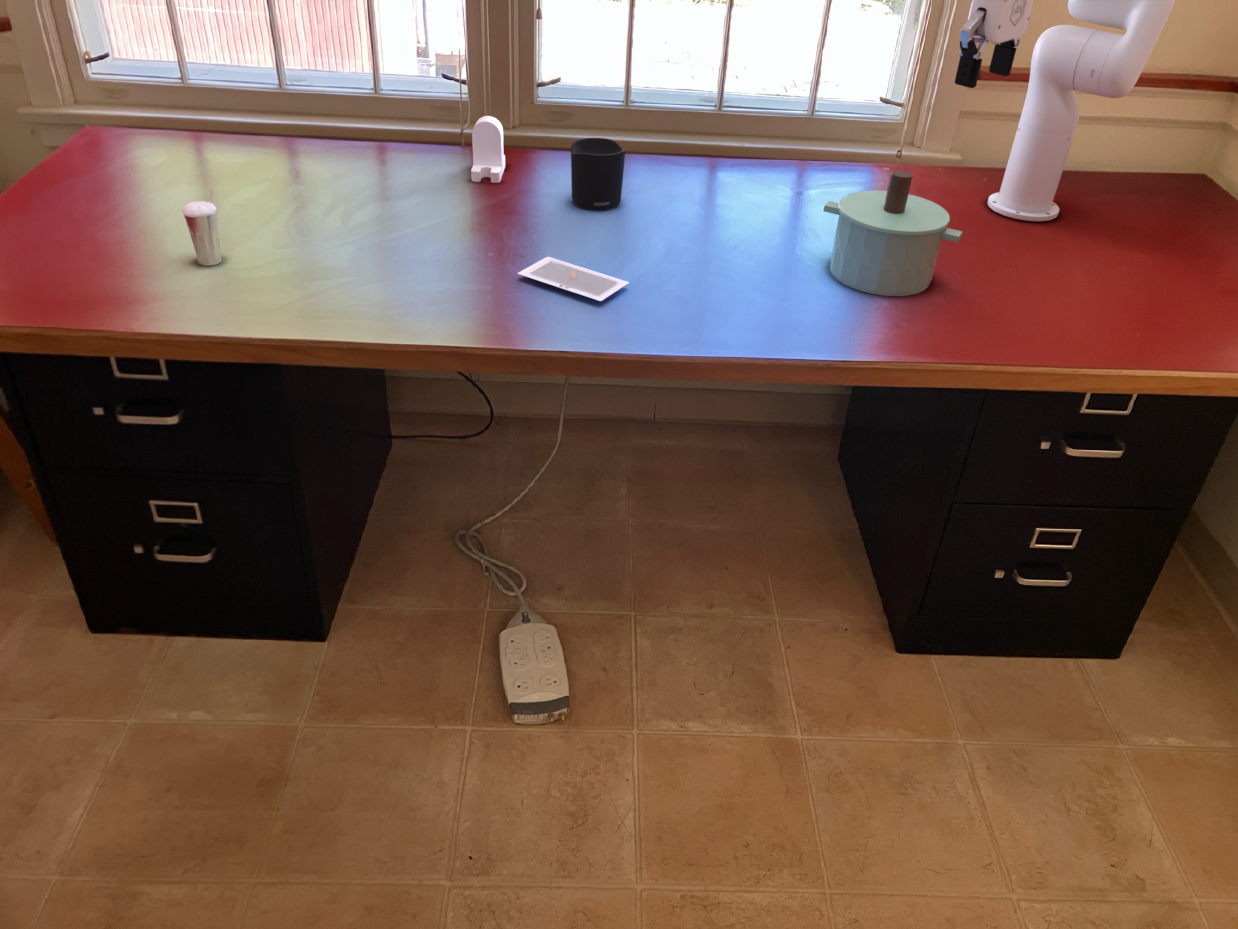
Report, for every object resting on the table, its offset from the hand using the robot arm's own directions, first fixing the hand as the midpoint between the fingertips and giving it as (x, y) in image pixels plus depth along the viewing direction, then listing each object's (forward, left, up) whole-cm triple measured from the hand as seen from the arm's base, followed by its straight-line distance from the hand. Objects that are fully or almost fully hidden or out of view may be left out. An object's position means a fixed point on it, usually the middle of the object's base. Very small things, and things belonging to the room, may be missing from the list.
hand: (982, 79), depth 144 cm
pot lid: (+12, -6, -18) cm, 23 cm away
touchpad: (+43, -44, -28) cm, 68 cm away
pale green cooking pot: (+12, -6, -28) cm, 31 cm away
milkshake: (+67, -93, -28) cm, 118 cm away
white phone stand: (+11, -82, -28) cm, 87 cm away
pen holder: (+12, -58, -28) cm, 66 cm away
